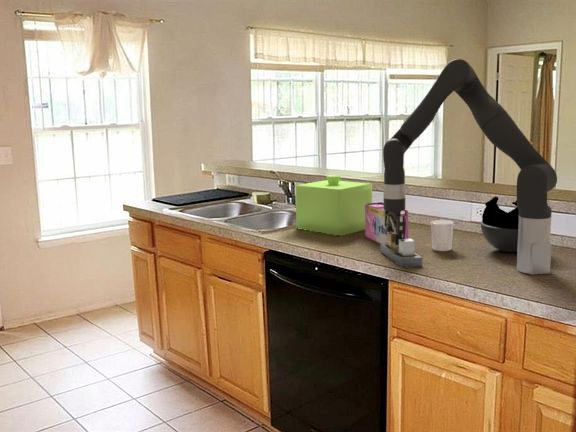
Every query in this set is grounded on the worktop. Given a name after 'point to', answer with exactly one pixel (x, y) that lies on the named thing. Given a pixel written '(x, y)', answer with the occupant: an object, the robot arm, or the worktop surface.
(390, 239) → the pale yellow block
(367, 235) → the gum box
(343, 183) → the canister
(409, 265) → the gray slotted tray
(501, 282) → the worktop surface
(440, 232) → the white cup
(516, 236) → the bowl of black rocks
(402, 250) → the white rectangular block
